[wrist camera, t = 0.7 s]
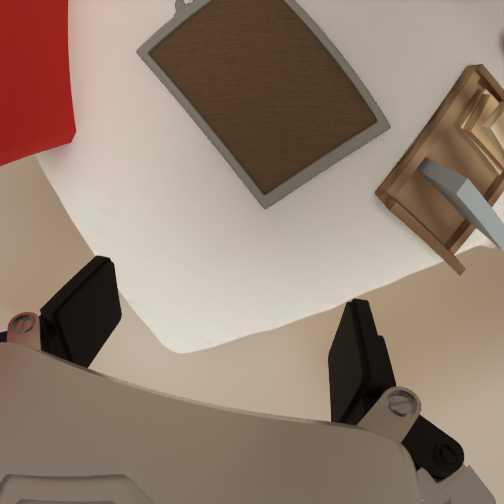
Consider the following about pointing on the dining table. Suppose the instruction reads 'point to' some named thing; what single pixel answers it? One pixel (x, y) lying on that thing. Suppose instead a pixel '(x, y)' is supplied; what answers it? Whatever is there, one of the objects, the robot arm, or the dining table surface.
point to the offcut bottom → (459, 126)
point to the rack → (451, 156)
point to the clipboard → (264, 89)
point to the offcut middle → (477, 132)
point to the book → (34, 78)
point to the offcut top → (496, 128)
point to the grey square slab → (464, 199)
